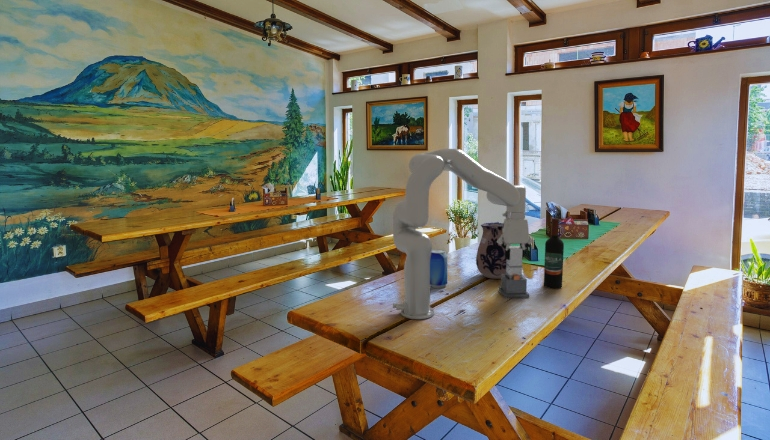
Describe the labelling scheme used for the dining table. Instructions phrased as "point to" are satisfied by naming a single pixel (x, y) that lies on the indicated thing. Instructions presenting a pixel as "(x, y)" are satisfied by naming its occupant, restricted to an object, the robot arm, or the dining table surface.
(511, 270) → the column
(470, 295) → the dining table surface
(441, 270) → the beer can
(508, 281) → the stand base
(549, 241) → the wine bottle
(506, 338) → the dining table surface
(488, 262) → the ceramic pitcher
